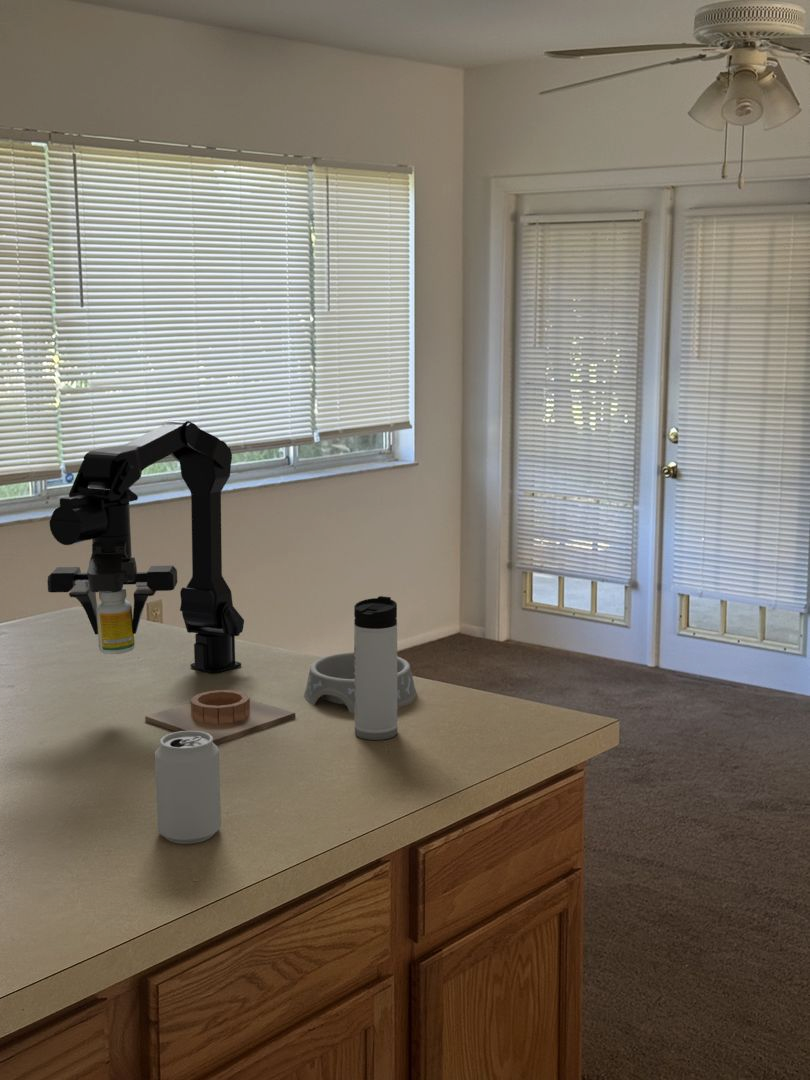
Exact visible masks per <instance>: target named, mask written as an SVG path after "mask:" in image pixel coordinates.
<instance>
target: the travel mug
mask: <svg viewBox="0 0 810 1080" xmlns="http://www.w3.org/2000/svg"><path fill="white" fill-rule="evenodd" d="M391 598H392V597H390V596H385V595H384V596H383V595H379V596H377V597H376V598H374V597H373V598H368V599H367V598H366V599H363V600H360V601H358V602H356V603H355V604H354V609H353V611H354V613H353V614H354V622H353V628H354V629H353V639H354V640H353V647H354V649H353V652H354V682H355V713H354V734H355V736H357V738H358V737H359V738H360V739H363V740H368V741H383V740H384V741H385V740H388V739H392V738H393V737H395V736H397V733H398V708H397V657H398V620H397V618H398V604H397V602H396V601H395V600H392V599H391Z"/></svg>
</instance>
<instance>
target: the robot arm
mask: <svg viewBox="0 0 810 1080" xmlns="http://www.w3.org/2000/svg"><path fill="white" fill-rule="evenodd" d="M169 456H171V457H172V458H174V459H175V460H176V461H177V463H179V466H180V467H179V468H180V475H181V478H182V480H183V482H184V483H185V485H186V486H187V488H188V490H189V492H190V502H191V503H190V506H191V509H190V510H191V511H190V513H191V517H190V518H191V519H190V520H191V563H192V564H191V565H192V567H191V568H192V569H191V573H192V574H191V578H190V580H189V582H188V584H187V585H186V586H185V587H182V588H181V589H180V592H179V593H180V595H179V596H180V609H179V611H180V612H181V616H182V619H183V621H184V622H183V623H184V625H185V628H186V632H187V633H188V634H190V633H193V634H195V635H194V637H195V638H194V639H195V642H194V644H193V651H194V653H193V654H194V655H193V657H194V662H192V663H190V665H189V666H190V667H191V668H193V669H197V670H199V671H203V672H207V673H210V674H217V673H221V672H224V671H227V670H228V671H229V670H231V669H235V668H238V667H241V666H242V662H240V661H236V645H235V644H236V639H235V637H239V636H240V634H241V633H243V629H244V625H245V624H244V623H245V620H244V618H243V617H242V615H241V614H240V613H239V612H238V610H237V609H236V608H235V607H234V605H233V604H234V603H233V594H232V591H231V589H230V587H229V585H228V583H227V581H226V580H225V578H224V577H223V565H222V563H223V559H222V555H223V554H222V551H223V550H222V495H221V494H222V490H223V489H224V487H225V485H226V484H227V482H228V481H229V478H230V477H231V470H232V469H231V467H232V462H233V454H232V451H231V447H230V446H228V445H227V443H226V442H225V441H224V440H221V439H220V438H218V437H217V436H215V435H213V434H211V433H209V432H207V431H204V430H203V429H201V428H200V427H199V426H198V425H197V424H195V423H194V422H191V421H189V420H171V419H170V420H168V421H165V422H164V423H163V424H162V425H161V426H159V427H157V428H155V429H152V430H150V431H149V432H147V433H144V434H143V435H141V436H139V437H136V438H135V439H133V440H131V441H129V442H127V443H125V444H123V445H119V446H118V445H117V446H109V447H107V446H106V447H102V448H98V449H92V450H89V451H88V452H87V453H85V455H84V456H83V460H82V462H81V464H80V466H79V469H78V471H77V474H76V476H75V478H74V482H73V484H72V486H71V488H70V491H69V493H68V496H65V497H60V498H59V506H58V507H56V508H55V509H54V510H53V512H52V514H51V517H50V520H49V528H50V532H51V535H52V536H53V538H54V539H55V540H56V541H57V542H58V543H59V544H61V545H63V546H72V545H75V544H79V543H83V542H86V541H91V556H90V558H89V559H90V560H89V564H88V568H87V572H81V568H80V566H64V567H63V566H59V567H58V566H57V567H55V569H53V571H52V572H51V573H50V574H49V575H48V576H47V592H48V593H68V596H69V598H75V599H76V600H77V601H78V602H79V603H80V604H81V606H82V608H83V610H84V611H85V614H86V615H87V619H88V620H89V624H90V625H91V628H92V630H93V633H94V634H95V635H97V636H98V628H97V617H96V607H97V605H98V602H97V593H99V591H111V592H118V591H120V590H122V588H123V587H124V585H128V586H129V585H135V586H136V588H135V591H134V592H133V609H132V617H133V624H132V627H133V634H134V635H135V634H137V632H138V628H139V625H140V622H141V619H142V615H143V612H144V607H145V605H146V602H147V601H148V598H149V597H153V596H155V594H156V592H165V591H166V592H167V591H169V592H170V591H174V590H175V588H176V586H177V584H178V570H177V568H176V567H175V566H174V565H150V567H149V568H148V570H147V571H137V562H136V559H135V557H132V556H133V555H132V538H131V536H132V534H131V513H130V503H131V502H134V501H138V499H139V496H138V495H137V494H136V493H135V492H134V491H132V490H131V489H130V488H131V487H132V486H133V485H134V484H135V483H137V482H138V481H139V480H140V479H141V478H142V472H143V471H144V470H145V469H146V468H148V467H150V466H152V465H154V464H156V463H157V462H159V461H161V460H163V459H165V458H166V457H169Z"/></svg>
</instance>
